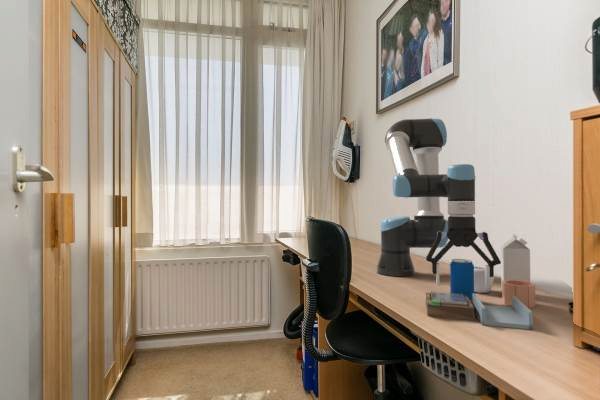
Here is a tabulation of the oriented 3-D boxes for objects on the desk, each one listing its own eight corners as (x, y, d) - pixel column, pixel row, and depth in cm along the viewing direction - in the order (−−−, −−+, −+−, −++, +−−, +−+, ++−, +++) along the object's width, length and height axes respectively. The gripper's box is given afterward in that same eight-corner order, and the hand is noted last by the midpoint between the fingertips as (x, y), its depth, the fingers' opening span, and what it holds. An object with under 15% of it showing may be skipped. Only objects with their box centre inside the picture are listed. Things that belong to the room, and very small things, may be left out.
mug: (490, 288, 116) (490, 265, 116) (496, 295, 108) (496, 270, 108) (451, 286, 119) (451, 264, 119) (455, 292, 111) (455, 268, 111)
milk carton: (503, 295, 107) (503, 235, 107) (501, 290, 113) (500, 233, 114) (530, 298, 104) (530, 236, 104) (526, 292, 110) (526, 234, 110)
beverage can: (477, 303, 99) (476, 262, 99) (453, 302, 100) (452, 262, 100) (470, 297, 105) (470, 258, 105) (448, 296, 106) (447, 258, 107)
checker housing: (425, 302, 100) (425, 289, 100) (466, 306, 97) (466, 292, 97) (427, 316, 89) (427, 301, 89) (474, 320, 85) (474, 305, 85)
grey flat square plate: (430, 295, 98) (430, 291, 98) (462, 297, 96) (462, 294, 96) (432, 303, 90) (432, 299, 90) (467, 306, 88) (467, 302, 88)
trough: (472, 307, 95) (472, 293, 96) (515, 311, 92) (515, 296, 92) (481, 324, 82) (481, 308, 82) (532, 329, 79) (532, 312, 79)
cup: (500, 298, 104) (500, 279, 104) (529, 301, 101) (529, 280, 101) (506, 306, 96) (506, 285, 97) (538, 308, 94) (537, 286, 94)
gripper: (417, 216, 103) (418, 286, 103) (512, 216, 95) (513, 292, 95) (417, 215, 110) (418, 280, 110) (505, 215, 102) (506, 286, 102)
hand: (462, 286), depth 103 cm, fingers open, 13 cm apart
